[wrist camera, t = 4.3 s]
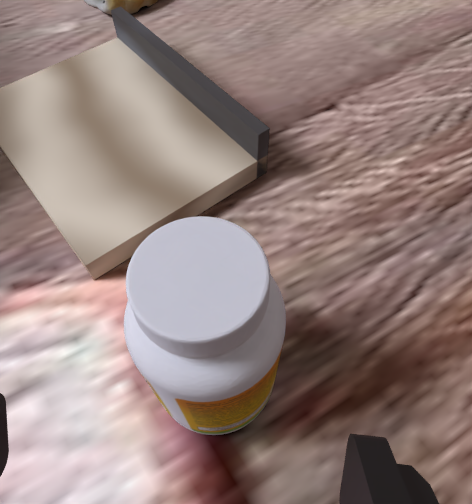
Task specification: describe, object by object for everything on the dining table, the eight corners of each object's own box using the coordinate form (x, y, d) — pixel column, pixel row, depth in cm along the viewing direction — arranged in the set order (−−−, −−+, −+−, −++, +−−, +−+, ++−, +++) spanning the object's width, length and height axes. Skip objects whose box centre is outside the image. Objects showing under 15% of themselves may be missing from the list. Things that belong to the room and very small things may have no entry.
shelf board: (134, 50, 33) (124, 4, 30) (270, 169, 27) (273, 125, 24) (-20, 119, 29) (-49, 74, 26) (94, 280, 23) (71, 243, 20)
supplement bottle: (293, 354, 20) (329, 241, 12) (236, 462, 18) (233, 413, 10) (198, 302, 22) (172, 171, 14) (133, 396, 19) (55, 305, 11)
